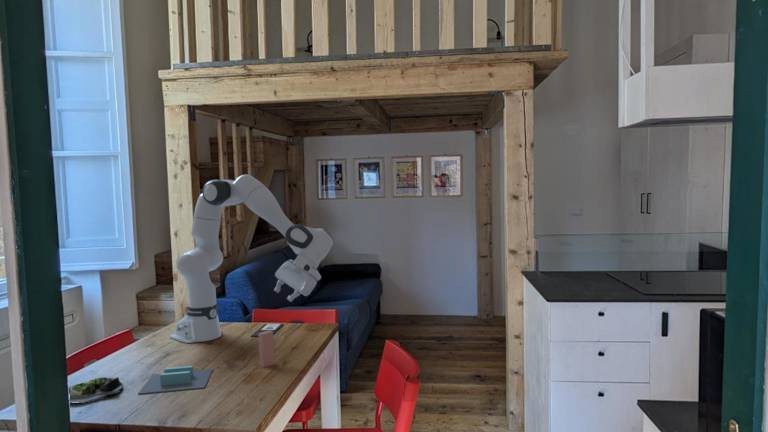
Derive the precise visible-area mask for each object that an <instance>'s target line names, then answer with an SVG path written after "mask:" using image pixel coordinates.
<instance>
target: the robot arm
mask: <svg viewBox="0 0 768 432" xmlns="http://www.w3.org/2000/svg"><path fill="white" fill-rule="evenodd" d="M243 204H244V205H245V206H246V207H247V208H248V209H249V210H251V211H252V212H253V213H255V215H257V216H259V217H260V218H261V219H263V220H264V221H266V222H267V223H269V224H270V225H271V226H273V227H274V228H275V229H277V231H278V232H279V233H281V235H282V236H283V237H284V238H285V241H286V243H287V245H288V246H289V247H290V248H291V249H292V251H293V252H294V254H295V255H296V258H295V259H288V260H286V261H285V262H283V264H282V265H281V266H279V268H278V269H277V270H276V272H274V273H275V274H274V277H275V278H277V281H276V286H275V287H274V288H273V292H276V293H278V294H279V293H280V292H281V290H282V289H281V286H282V285H284V284H286V285H288V286H289V287H290V288H292V289H293V293H291V294H289V295H288V296H287V297H286V300H287V301H289V302H291V303H292V302H293V300H295V298H298V297H299V296H300V295H302V296H305V297H308V296H309V295H310V294H311V293H312V291H313V290H314V289H315V287H316V285H317V283H318V282H319V281H320V280H321V279H322V275H321V274H320V272H319V270H318V267H319V266H320V264H321V262H322V260H324V259H325V258H326V257H327V256H328V254H329V252H330V250H331V248H332V247H333V246H334V238H333V237H332V235H331V234H330V233H329V232H328V230H326V229H324V228H322V227H321V228H314V227H313V228H312V227H309V226H305V225H303V224H298V223H297V224H296V223H295V224H294V223H293V221H291V220H290V219H289V218H288V217H287V216H286V215H285V213H284V212H283V209H282V208H281V206H280V204H279V202H278V200H277V199H276V197H275V196H274V194H273V192H271V191H270V189H269V188H268V187H267V186H266V185H264V184H263V183H262V182H261V181H259V180H258V179H257V178H255V177H254V176H252V175H251V174H247V173H246V174H242V175H239V176H238V177H237V178H236V179H235V180H234V179H233V180H232V179H212V180H209V181H207V182H206V183H205V184H204V185H203V187H202V193H200V195H199V196H198V198H197V201H196V204H195V207H194V212H193V220H192V226H191V233H190V234H191V236H192V237H193V238H194V242H195V247H194V248H195V249H191V250H188V251H186V252H184V253H182V254H181V255H180V256H179V257H178V258H177V261H176V264H175V265H176V269H177V271H178V272H179V274H180V275H182V277H183V278H184V280H185V282H186V286H187V291H188V303H189V304H188V305H189V306H185V308H184V310H185V311H186V314H185V316H183V317H182V318H181V319H180V320H178V321H177V323H176V325H175V332H174V333H172V334H170V335H169V336H170V337H169V338H170V339H173V340H176V341H179V342H182V343H184V344H185V343H186V344H193V343H200V342H208V341H212V340H216V339H219V338H220V337H221V336H222V335H223V334H222V328H221V327H220V326H221V325H220V320H219V314H218V312H219V311H218V308H219V307H218V303H217V294H216V293H217V292H216V285H215V284H214V283H213V282H212V281H211V277H210V272H212V271H215V270H217V268H219V267H220V266H221V265H222V264H223V261H224V254H223V252H222V251H221V249H220V242H219V240H220V239H219V236H220V235H219V234H220V227H221V220H222V214H223V209H224V207H236V206H240V205H243Z"/></svg>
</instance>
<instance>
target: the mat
mask: <svg viewBox="0 0 768 432" xmlns="http://www.w3.org/2000/svg"><path fill="white" fill-rule="evenodd" d="M213 370H214V369H213V368H210V369H201V370H199V369H198V370H193V371H194V376H193V377H191V382H190V383H184V384H173V385H163V386H161V381H160V375H161V374H162V373H154V374H152V375H150V377H149V378H148V380H147V381H146V382H145V384H144V385H143V386H142V388H140V390H139V392H138V394H137V395H147V394H160V393H170V392H180V391H188V390H189V391H190V390H200V389H205V388H206V386H207V384H208V382H209V380H210V377H211V375H212V372H213Z"/></svg>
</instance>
